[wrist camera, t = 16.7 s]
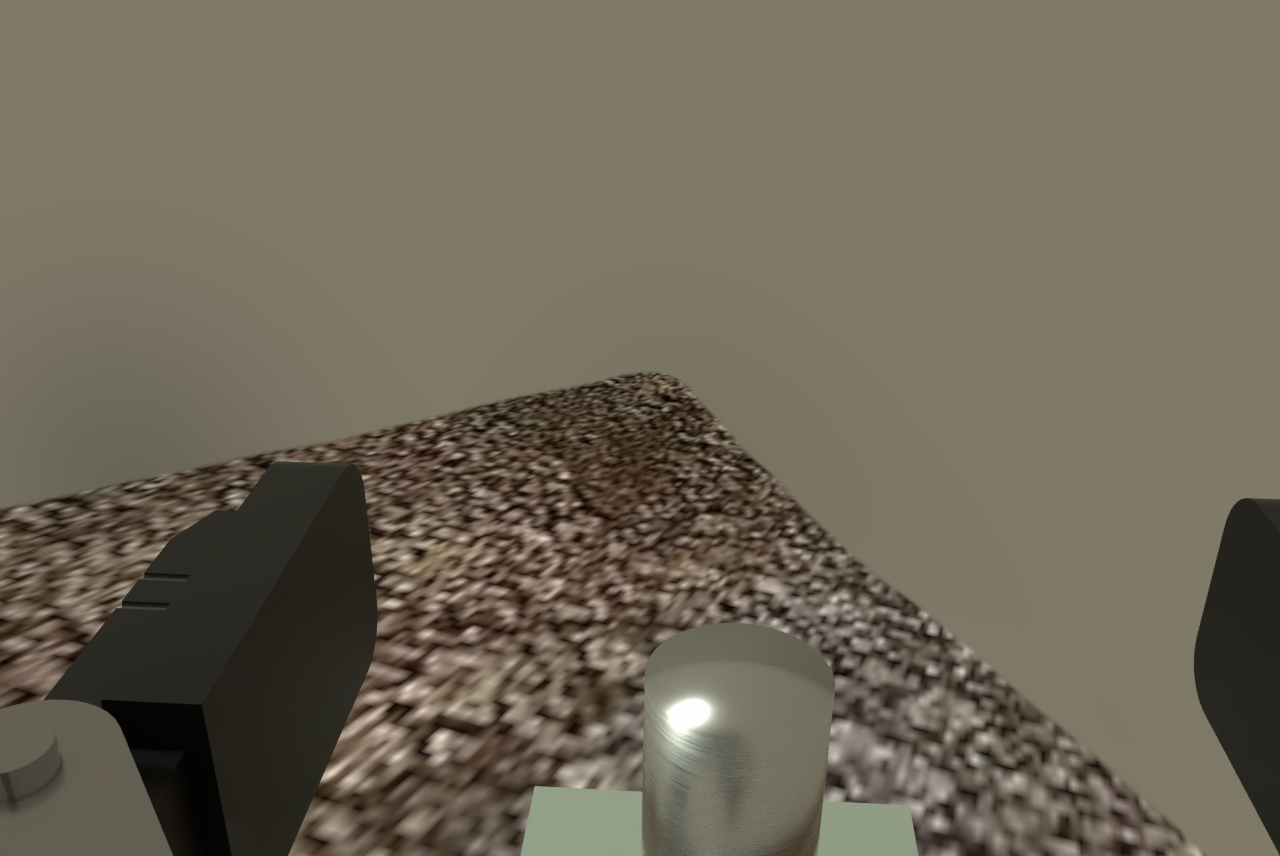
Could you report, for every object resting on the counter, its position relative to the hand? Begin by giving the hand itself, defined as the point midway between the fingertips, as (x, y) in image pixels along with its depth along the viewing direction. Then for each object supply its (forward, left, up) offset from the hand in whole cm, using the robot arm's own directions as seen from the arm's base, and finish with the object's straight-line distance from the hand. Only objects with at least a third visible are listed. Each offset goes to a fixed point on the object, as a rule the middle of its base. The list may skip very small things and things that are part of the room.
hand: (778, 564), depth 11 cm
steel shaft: (0, +16, -27) cm, 31 cm away
